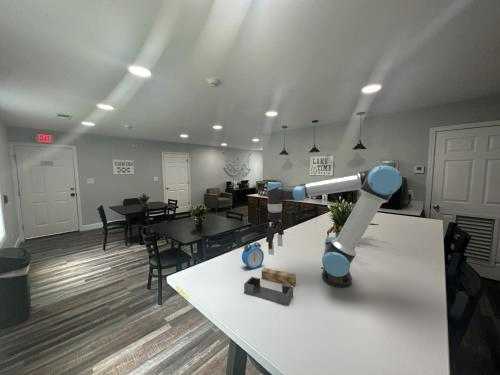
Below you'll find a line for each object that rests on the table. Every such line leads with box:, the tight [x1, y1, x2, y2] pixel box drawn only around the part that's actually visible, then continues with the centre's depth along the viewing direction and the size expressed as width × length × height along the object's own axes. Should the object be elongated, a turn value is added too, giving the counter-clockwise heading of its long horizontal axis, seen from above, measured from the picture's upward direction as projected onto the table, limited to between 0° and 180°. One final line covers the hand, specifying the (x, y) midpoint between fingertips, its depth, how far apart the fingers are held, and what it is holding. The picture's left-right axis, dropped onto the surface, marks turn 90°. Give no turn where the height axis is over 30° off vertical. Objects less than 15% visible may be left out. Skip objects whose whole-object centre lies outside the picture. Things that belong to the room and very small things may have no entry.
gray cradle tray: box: [243, 276, 294, 307], centre depth 96 cm, size 22×8×5 cm, turn 62°
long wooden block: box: [261, 267, 297, 288], centre depth 109 cm, size 18×4×5 cm, turn 62°
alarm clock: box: [241, 242, 265, 270], centre depth 126 cm, size 13×6×15 cm, turn 119°
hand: (275, 250), depth 109 cm, fingers open, 13 cm apart
